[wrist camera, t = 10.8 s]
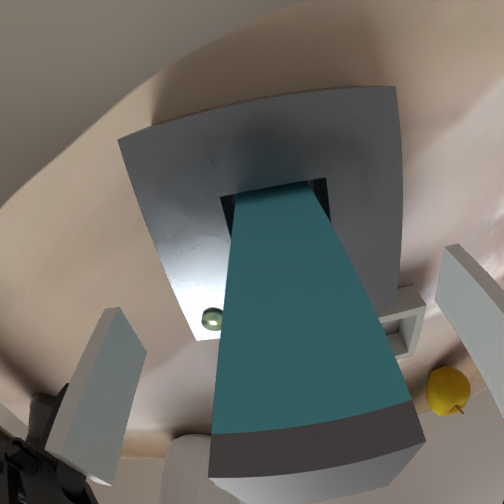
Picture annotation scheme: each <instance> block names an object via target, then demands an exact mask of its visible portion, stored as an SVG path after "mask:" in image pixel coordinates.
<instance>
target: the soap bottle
mask: <svg viewBox="0 0 504 504" xmlns="http://www.w3.org/2000/svg"><path fill="white" fill-rule="evenodd" d="M210 441H211V436H210V435H205V434H188V435H184V436H181V437H179V438H177V439H174V440H173V441H172V442H171V444H170V445H169V447H168V449H167V452H166V455H165V460H164V467H163V474H162V481H161V488H160V496H159V503H158V504H239V502H240V499H238V498H237V497H235V496H233V495H232V494H230V493H229V492H227V491H226V490H223V489H221V488H218V487H217V486H216V485H215V483H214V482H213V481H212V480H210V479H209V478H208V467H209V454H210Z"/></svg>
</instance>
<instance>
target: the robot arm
mask: <svg viewBox="0 0 504 504" xmlns="http://www.w3.org/2000/svg"><path fill="white" fill-rule="evenodd" d="M435 302H436V303H437V304H438V306H439V307H440V309H441V310H442V312H443V313H444V315H445V316H446V318H447V319H448V321H449V322H450V324H451V325H452V327H453V328H454V330H455V331H456V333H457V335H458V336H459V338H460V339H461V341H462V343H463V344H464V346H465V348H466V349H467V351H468V353H469V354H470V356H471V358H472V359H473V361H474V363H475V364H476V366H477V368H478V370H479V372H480V373H481V375H482V377H483V379H484V381H485V382H486V384H487V386H488V388H489V390H490V392H491V394H492V396H493V398H494V400H495V402H496V403H497V406H498V408H499V410H500V412H501V414H502V416H503V418H504V290H503V289H502V288H501V287H500V286H499V285H498V284H497V283H496V281H495V280H494V279H493V278H492V277H491V276H490V275H489V274H488V273H487V272H486V271H485V270H484V269H483V268H482V267H481V266H480V265H479V264H478V262H477V261H476V260H475V259H474V258H473V257H472V256H471V255H470V254H468V253H467V252H466V251H465V250H464V249H463V248H462V247H461V246H460V245H459V244H454V245H450V246H446V247H444V251H443V258H442V264H441V270H440V275H439V281H438V286H437V291H436V296H435ZM146 353H147V351H146V350H145V348H144V347H143V345H142V344H141V342H140V340H139V339H138V337H137V336H136V334H135V332H134V331H133V329H132V327H131V326H130V324H129V322H128V321H127V319H126V317H125V316H124V314H123V312H122V310H121V309H120V307H116V308H108V309H105V310H104V312H103V314H102V316H101V318H100V320H99V322H98V324H97V326H96V327H95V329H94V332H93V334H92V336H91V338H90V340H89V342H88V344H87V346H86V348H85V350H84V352H83V354H82V357H81V359H80V361H79V363H78V365H77V367H76V370H75V372H74V374H73V377H72V379H71V381H70V383H66V385H65V386H64V387H63V388H62V390H61V391H60V392H59V394H58V396H57V398H54V397H52V396H49V395H45V394H35V395H34V396H33V398H32V401H31V403H30V414H29V430H28V435H27V437H26V440H25V441H24V440H22V439H21V438H18V437H15V436H13V435H12V434H11V433H9V432H8V431H7V430H5V429H4V428H2V427H1V426H0V504H98V502H97V500H96V498H95V496H94V494H93V492H92V490H91V487H90V486H89V484H88V483H87V482H86V477H88V478H90V479H91V480H93V481H95V482H97V483H101V484H105V485H109V486H113V484H114V479H115V474H116V470H117V465H118V460H119V456H120V451H121V447H122V443H123V438H124V434H125V430H126V426H127V422H128V418H129V414H130V410H131V406H132V403H133V399H134V395H135V392H136V388H137V384H138V381H139V377H140V374H141V370H142V367H143V364H144V360H145V357H146ZM503 504H504V501H503Z"/></svg>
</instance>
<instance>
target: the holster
mask: <svg viewBox="0 0 504 504" xmlns="http://www.w3.org/2000/svg"><path fill="white" fill-rule="evenodd" d="M425 309H426V304H425V303H424V301H423V299H422V298H421V296H420V295H419V293H418V292H417V290H416V289H415V287H414V286H413V285H410V286H406V287H402V288H398V289H397V296H396V304H395V306H393V307H389V308H384V309H380V310H376V311H375V312H376V314H377V317H378V319H379V321H380V323H381V324H382V323H386V322H390V321H394V320H398V319H401V320H400V326H399V331H398V332H396V333H392V334H388V335H386V337H387V339H388V341H389V344H390V346H391V349H392V351H393V353H394V356H395V358H396V360H399V359H403V358H406V357H409V356H413V355H414V352H415V348H416V345H417V341H418V338H419V334H420V330H421V326H422V322H423V318H424V313H425Z"/></svg>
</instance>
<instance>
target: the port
mask: <svg viewBox="0 0 504 504" xmlns="http://www.w3.org/2000/svg"><path fill="white" fill-rule="evenodd" d="M118 143H119V147H120V150H121V153H122V156H123V159H124V162H125V166H126V169H127V172H128V175H129V178H130V181H131V183H132V186H133V189H134V192H135V195H136V198H137V201H138V203H139V206H140V209H141V212H142V214H143V217H144V220H145V222H146V225H147V228H148V230H149V233H150V235H151V238H152V240H153V243H154V245H155V248H156V250H157V253H158V255H159V258H160V260H161V263H162V265H163V267H164V270H165V272H166V274H167V277H168V279H169V281H170V284H171V286H172V288H173V291H174V293H175V295H176V297H177V300H178V302H179V304H180V306H181V308H182V311H183V313H184V315H185V317H186V319H187V321H188V323H189V326H190V328H191V330H192V332H193V334H194V336H195V338H196V340H197V341H199V340H208V339H216V338H220V333H221V323H222V314H223V305H224V296H225V287H226V278H227V269H228V261H229V252H230V244H231V236H232V227H233V219H234V212H235V204H236V196H237V193H241V192H246V191H251V190H256V189H261V188H266V187H272V186H277V185H283V184H288V183H294V182H300V181H307V183H308V184H309V186H310V188H311V189H312V191H313V193H314V195H315V196H316V198H317V200H318V201H319V203H320V205H321V207H322V209H323V210H324V212H325V214H326V216H327V217H328V219H329V221H330V223H331V225H332V227H333V228H334V230H335V232H336V234H337V236H338V238H339V240H340V241H341V243H342V245H343V247H344V249H345V251H346V253H347V255H348V257H349V259H350V261H351V263H352V265H353V267H354V269H355V271H356V273H357V275H358V277H359V279H360V281H361V283H362V285H363V287H364V289H365V291H366V293H367V295H368V297H369V299H370V302H371V304H372V306H373V308H374V310H375V311H376V310H380V309H384V308H389V307H393V306H395V304H396V296H397V287H398V278H399V267H400V255H401V239H402V211H403V179H402V152H401V136H400V124H399V114H398V105H397V97H396V89H395V87H392V86H349V87H336V88H326V89H316V90H308V91H300V92H293V93H286V94H280V95H274V96H268V97H262V98H257V99H251V100H246V101H242V102H237V103H232V104H228V105H223V106H219V107H215V108H211V109H207V110H203V111H199V112H195V113H192V114H188V115H185V116H181V117H178V118H174V119H171V120H168V121H164V122H161V123H158V124H155V125H152V126H149V127H147V128H144V129H142V130H139V131H137V132H134V133H132V134H129V135H127V136H125V137H122V138H120V139H118Z"/></svg>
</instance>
